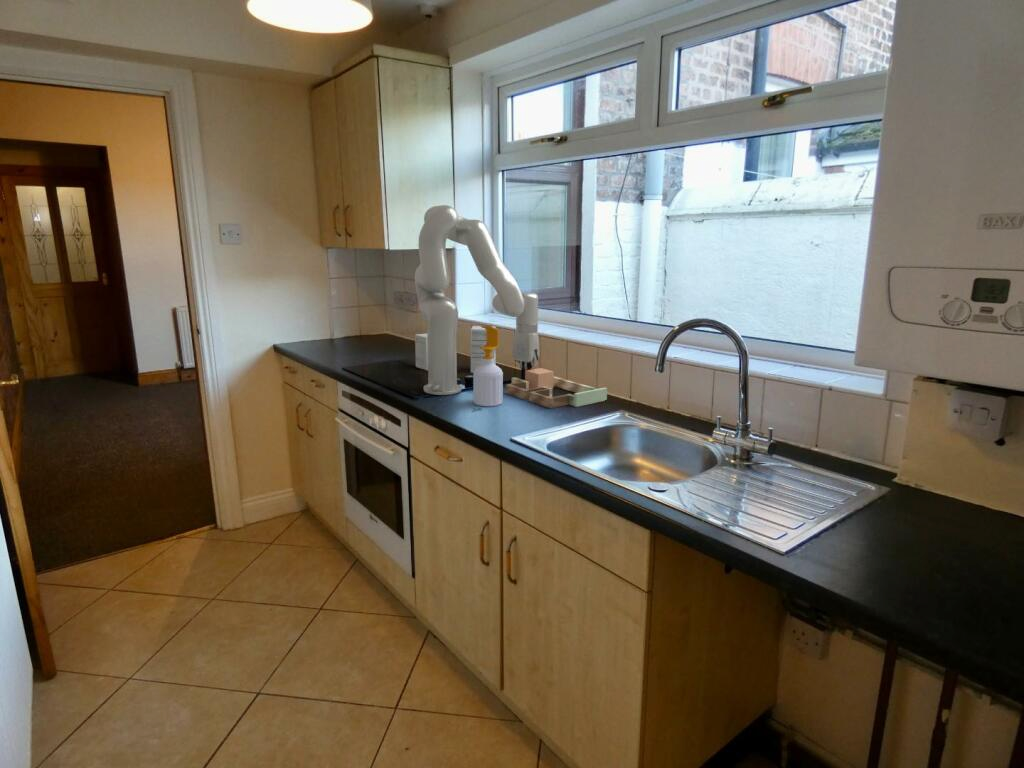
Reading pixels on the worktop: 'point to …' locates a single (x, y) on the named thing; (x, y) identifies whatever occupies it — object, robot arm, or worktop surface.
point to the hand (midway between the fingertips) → (525, 379)
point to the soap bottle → (488, 374)
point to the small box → (421, 351)
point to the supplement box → (478, 346)
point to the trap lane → (546, 392)
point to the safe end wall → (590, 397)
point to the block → (539, 378)
